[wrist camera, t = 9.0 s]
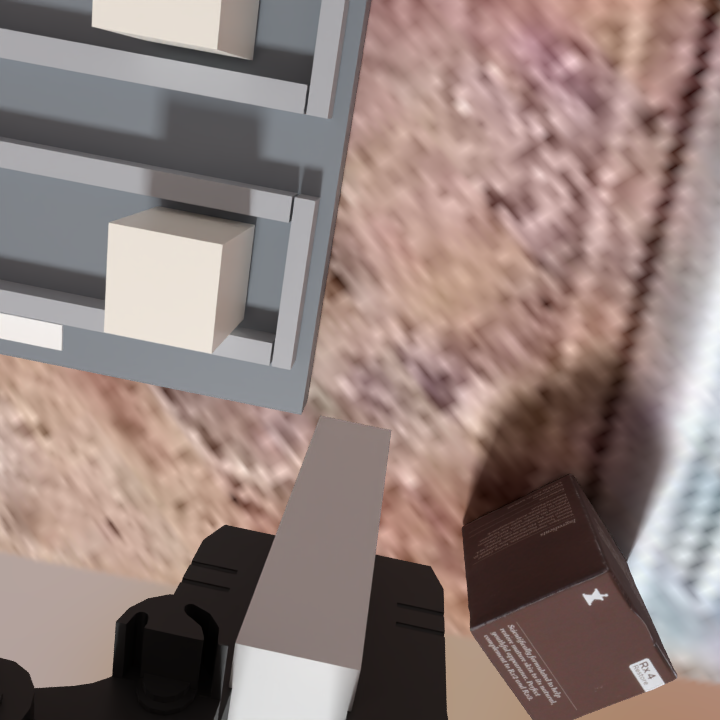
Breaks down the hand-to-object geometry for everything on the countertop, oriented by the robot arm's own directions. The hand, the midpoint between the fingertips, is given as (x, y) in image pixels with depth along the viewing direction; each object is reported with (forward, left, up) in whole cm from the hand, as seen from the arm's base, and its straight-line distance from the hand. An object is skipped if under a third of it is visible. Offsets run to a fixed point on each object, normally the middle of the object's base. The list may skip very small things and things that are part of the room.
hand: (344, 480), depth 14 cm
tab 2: (0, -8, -14) cm, 16 cm away
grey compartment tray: (-5, -11, -16) cm, 20 cm away
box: (+11, +10, -17) cm, 22 cm away
